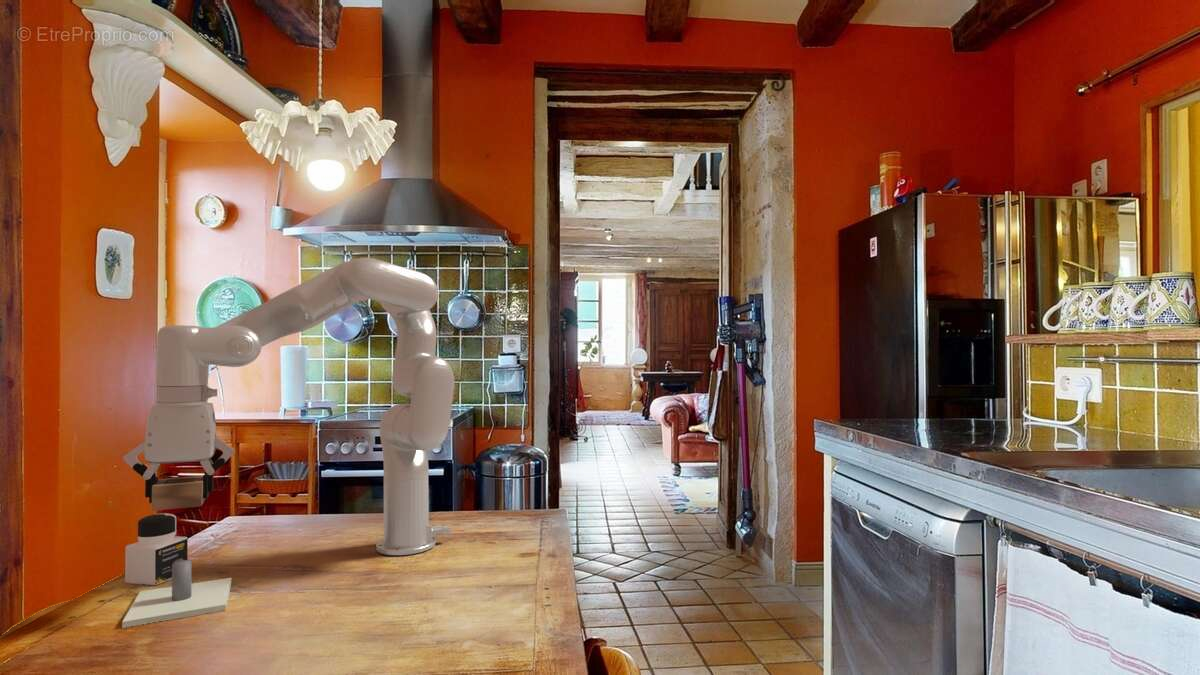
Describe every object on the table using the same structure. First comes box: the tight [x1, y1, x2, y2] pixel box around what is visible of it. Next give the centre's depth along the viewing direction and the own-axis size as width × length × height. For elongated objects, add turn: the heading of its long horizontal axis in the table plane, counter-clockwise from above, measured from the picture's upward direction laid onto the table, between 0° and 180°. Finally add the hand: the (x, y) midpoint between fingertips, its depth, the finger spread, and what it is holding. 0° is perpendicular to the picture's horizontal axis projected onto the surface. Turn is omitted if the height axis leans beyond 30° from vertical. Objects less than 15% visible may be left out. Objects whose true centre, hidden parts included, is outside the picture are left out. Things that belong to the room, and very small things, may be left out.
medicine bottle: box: [124, 512, 189, 586], centre depth 119 cm, size 7×7×12 cm
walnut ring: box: [150, 475, 207, 512], centre depth 107 cm, size 7×7×4 cm
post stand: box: [121, 559, 233, 629], centre depth 107 cm, size 14×14×7 cm
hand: (179, 498), depth 107 cm, fingers closed on walnut ring, 7 cm apart
